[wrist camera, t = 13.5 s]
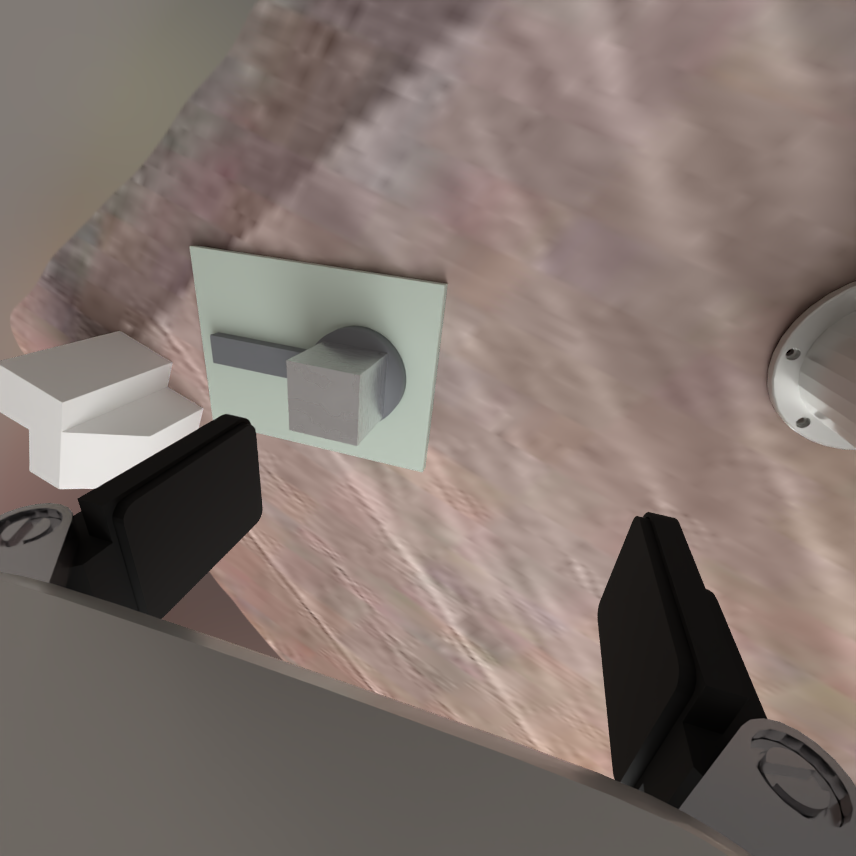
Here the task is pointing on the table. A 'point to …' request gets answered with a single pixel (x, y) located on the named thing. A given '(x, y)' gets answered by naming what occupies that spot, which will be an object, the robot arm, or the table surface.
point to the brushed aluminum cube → (336, 391)
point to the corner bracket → (94, 408)
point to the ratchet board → (304, 325)
